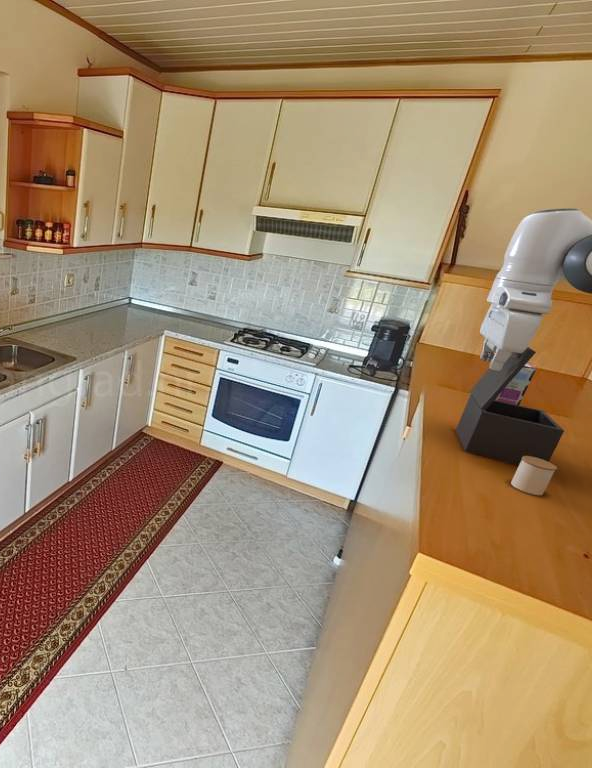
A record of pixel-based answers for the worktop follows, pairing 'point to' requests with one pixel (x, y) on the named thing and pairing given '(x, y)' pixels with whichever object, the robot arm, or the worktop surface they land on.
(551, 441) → the grey hinged lid box
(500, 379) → the grey lid with handle
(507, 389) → the candy bar box
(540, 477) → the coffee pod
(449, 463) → the worktop surface
